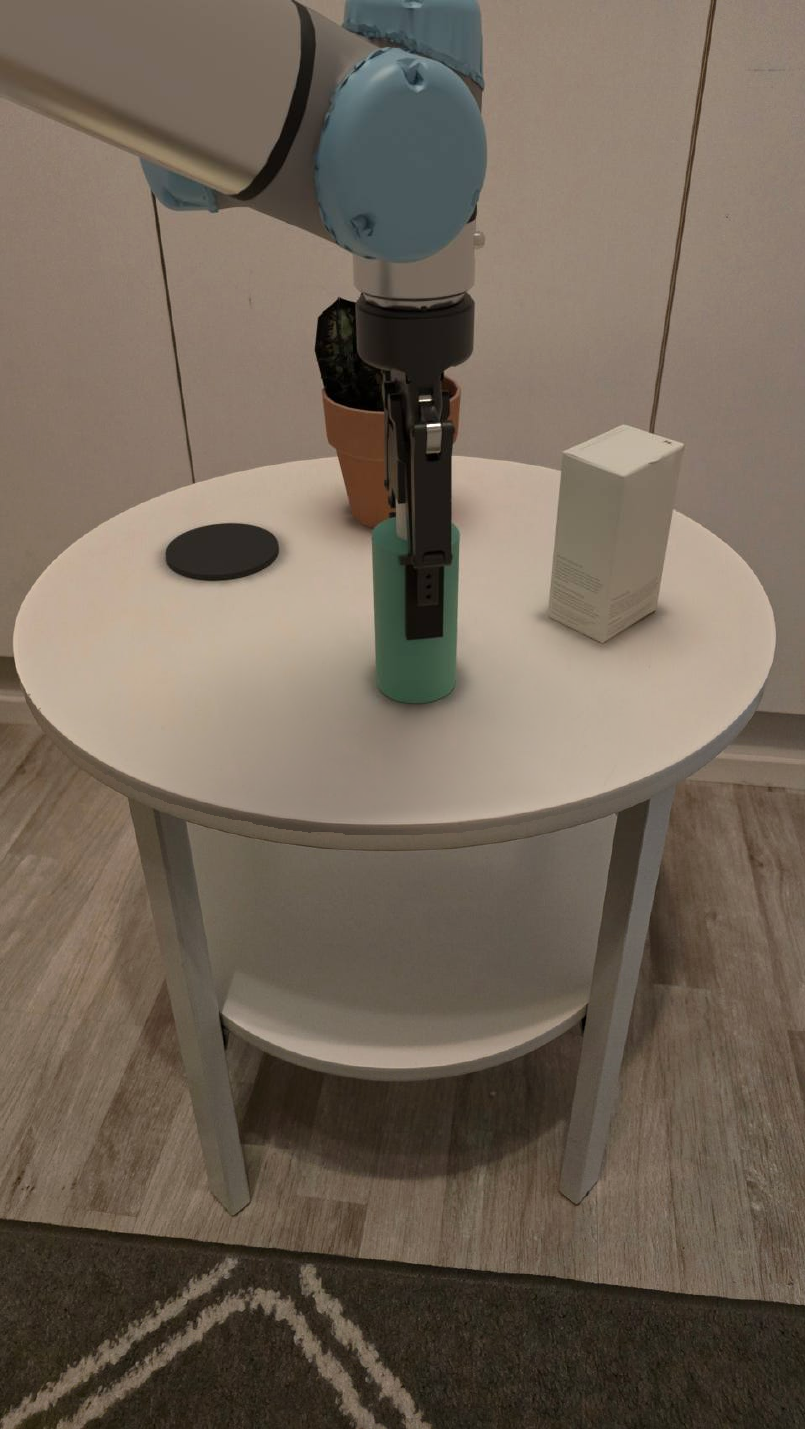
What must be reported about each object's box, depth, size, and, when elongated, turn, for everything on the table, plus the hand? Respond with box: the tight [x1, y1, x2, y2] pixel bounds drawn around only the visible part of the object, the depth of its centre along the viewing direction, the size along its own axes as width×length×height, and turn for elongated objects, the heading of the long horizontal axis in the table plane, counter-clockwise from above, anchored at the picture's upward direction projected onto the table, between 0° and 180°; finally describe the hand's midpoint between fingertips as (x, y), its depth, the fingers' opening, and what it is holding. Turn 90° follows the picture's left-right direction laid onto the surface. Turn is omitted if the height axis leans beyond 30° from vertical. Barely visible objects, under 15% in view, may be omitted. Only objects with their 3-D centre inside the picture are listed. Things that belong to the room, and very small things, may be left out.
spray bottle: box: [371, 423, 461, 704], centre depth 73 cm, size 7×6×21 cm
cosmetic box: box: [547, 424, 685, 644], centre depth 82 cm, size 8×7×16 cm
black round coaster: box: [164, 522, 280, 581], centre depth 97 cm, size 11×11×1 cm
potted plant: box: [314, 292, 462, 529], centre depth 96 cm, size 14×14×25 cm
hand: (415, 611), depth 75 cm, fingers closed on spray bottle, 6 cm apart
